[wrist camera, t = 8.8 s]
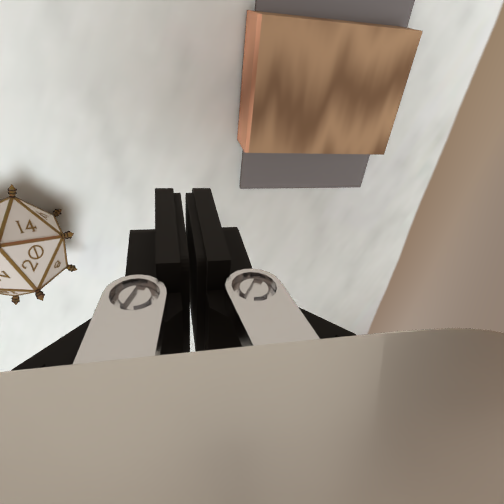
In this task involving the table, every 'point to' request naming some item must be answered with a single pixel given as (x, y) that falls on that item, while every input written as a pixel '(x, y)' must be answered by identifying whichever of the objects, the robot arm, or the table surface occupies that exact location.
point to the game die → (29, 247)
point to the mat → (319, 165)
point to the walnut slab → (321, 84)
